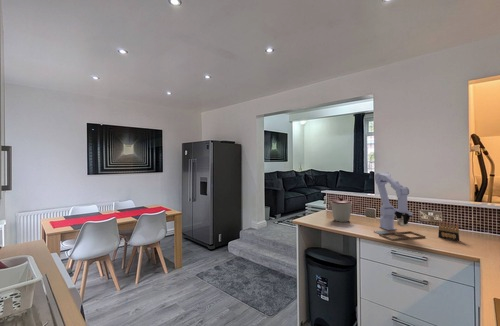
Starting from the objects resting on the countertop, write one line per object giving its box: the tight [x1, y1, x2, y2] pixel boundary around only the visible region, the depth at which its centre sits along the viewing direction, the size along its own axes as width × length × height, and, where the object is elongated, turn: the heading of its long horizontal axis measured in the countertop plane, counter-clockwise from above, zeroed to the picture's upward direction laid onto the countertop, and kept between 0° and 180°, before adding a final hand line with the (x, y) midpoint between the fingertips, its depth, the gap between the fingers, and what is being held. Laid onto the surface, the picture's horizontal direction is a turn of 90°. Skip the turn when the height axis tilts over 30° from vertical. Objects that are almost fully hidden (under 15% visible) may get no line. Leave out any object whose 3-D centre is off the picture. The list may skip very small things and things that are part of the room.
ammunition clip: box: [438, 219, 460, 242], centre depth 158 cm, size 11×2×12 cm, turn 40°
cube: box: [396, 217, 409, 227], centre depth 168 cm, size 4×4×4 cm
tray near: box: [378, 232, 409, 242], centre depth 163 cm, size 12×12×1 cm
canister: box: [330, 196, 353, 223], centre depth 211 cm, size 18×18×21 cm
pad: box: [373, 230, 392, 235], centre depth 173 cm, size 7×10×1 cm
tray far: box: [395, 230, 426, 240], centre depth 166 cm, size 12×12×1 cm
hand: (402, 223), depth 168 cm, fingers closed on cube, 4 cm apart
